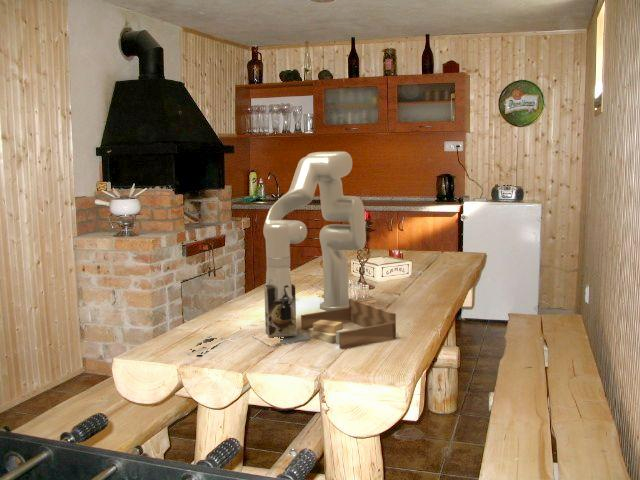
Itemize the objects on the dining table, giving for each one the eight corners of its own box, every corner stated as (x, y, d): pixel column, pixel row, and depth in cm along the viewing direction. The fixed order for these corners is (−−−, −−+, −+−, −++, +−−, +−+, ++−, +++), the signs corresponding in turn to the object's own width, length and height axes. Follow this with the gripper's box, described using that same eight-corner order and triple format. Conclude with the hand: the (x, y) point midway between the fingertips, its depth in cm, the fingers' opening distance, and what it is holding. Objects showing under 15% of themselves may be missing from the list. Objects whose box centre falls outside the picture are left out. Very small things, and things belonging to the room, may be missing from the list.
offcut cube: (336, 344, 201) (335, 331, 201) (344, 341, 204) (344, 328, 203) (345, 346, 198) (345, 333, 198) (354, 343, 201) (354, 330, 201)
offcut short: (313, 331, 207) (312, 323, 207) (320, 327, 211) (320, 319, 211) (335, 333, 203) (334, 326, 203) (342, 329, 207) (342, 322, 207)
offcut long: (308, 337, 210) (307, 328, 210) (322, 334, 214) (322, 325, 214) (332, 345, 201) (332, 336, 201) (346, 341, 205) (346, 332, 204)
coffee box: (269, 338, 205) (267, 288, 202) (265, 333, 211) (263, 284, 209) (297, 335, 207) (295, 285, 205) (292, 330, 213) (291, 281, 211)
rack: (301, 329, 218) (300, 306, 217) (352, 320, 228) (351, 298, 226) (341, 349, 195) (340, 323, 194) (395, 338, 205) (395, 313, 204)
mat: (252, 336, 212) (252, 335, 212) (290, 329, 218) (290, 328, 218) (270, 347, 199) (270, 345, 199) (310, 339, 206) (310, 338, 206)
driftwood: (212, 338, 213) (211, 331, 213) (231, 339, 211) (230, 332, 211) (181, 358, 194) (180, 351, 194) (201, 359, 192) (201, 352, 192)
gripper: (256, 260, 211) (258, 313, 214) (279, 267, 196) (281, 324, 199) (277, 257, 215) (279, 309, 217) (301, 264, 200) (303, 321, 202)
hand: (280, 316), depth 208 cm, fingers closed on coffee box, 7 cm apart
